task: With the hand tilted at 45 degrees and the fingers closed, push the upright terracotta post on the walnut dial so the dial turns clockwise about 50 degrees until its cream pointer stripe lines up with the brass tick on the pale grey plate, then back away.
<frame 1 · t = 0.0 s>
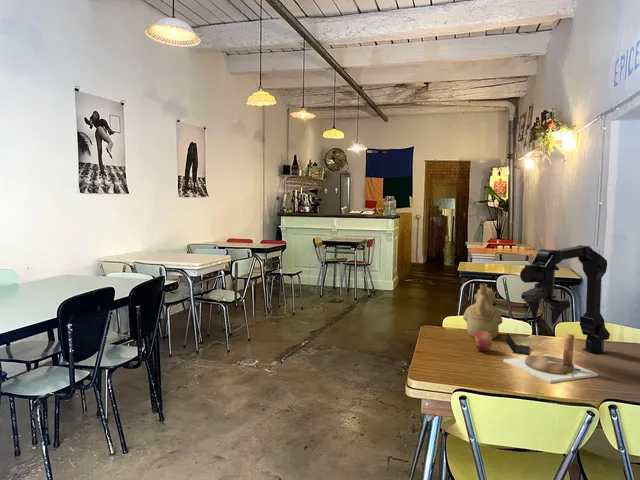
hand: (543, 321, 178), 15 cm above the table, tool pointing down, fingers open, 9 cm apart
dial plate: (548, 368, 168), on the table
handheld gaming console: (517, 350, 189), on the table
ceramic vessel: (481, 335, 210), on the table
fruit: (482, 351, 187), on the table
dial: (549, 349, 167), point 7 cm above the table, hinge at 0.0°
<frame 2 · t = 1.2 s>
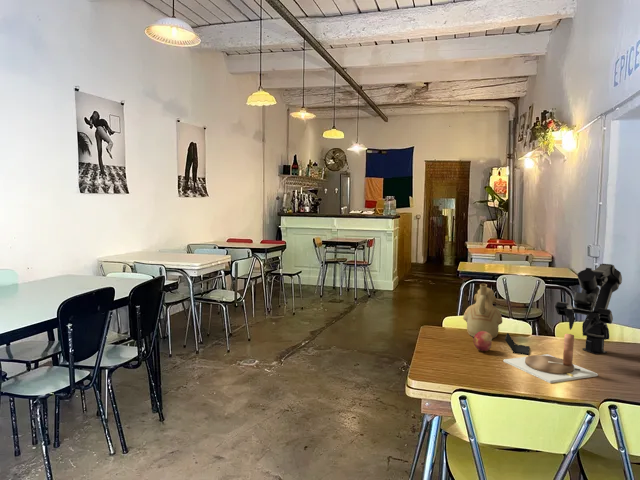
hand: (576, 330, 170), 14 cm above the table, tool tilted 45°, fingers open, 4 cm apart
nothing on the table moved.
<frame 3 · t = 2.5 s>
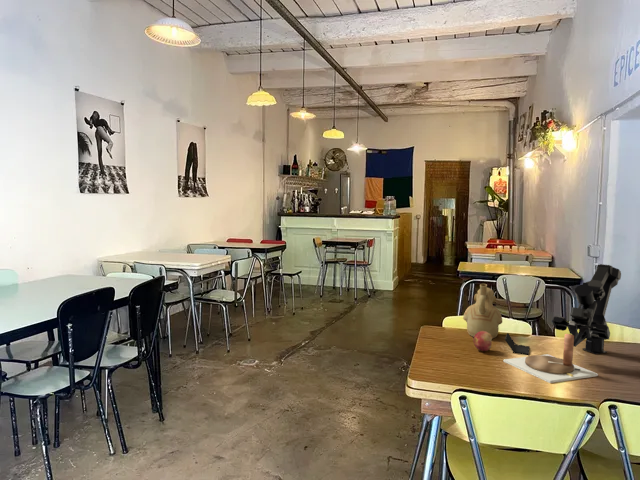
hand: (574, 345, 169), 8 cm above the table, tool tilted 45°, fingers closed
nothing on the table moved.
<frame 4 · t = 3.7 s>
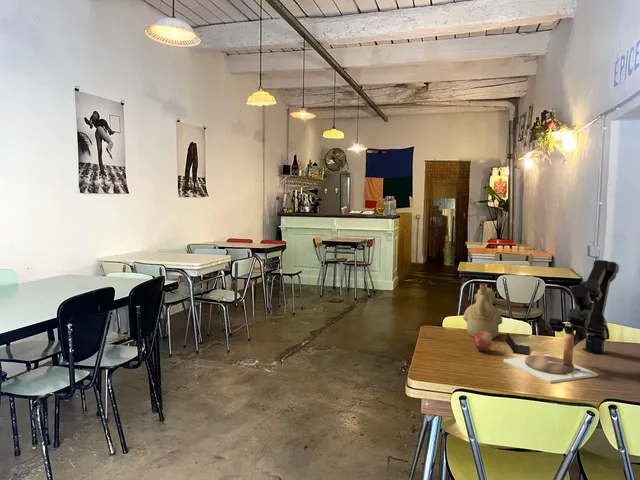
hand: (570, 347, 166), 8 cm above the table, tool tilted 45°, fingers closed, pressing on dial
dial: (549, 349, 167), point 7 cm above the table, hinge at 0.4°, touching gripper
everything else where it was.
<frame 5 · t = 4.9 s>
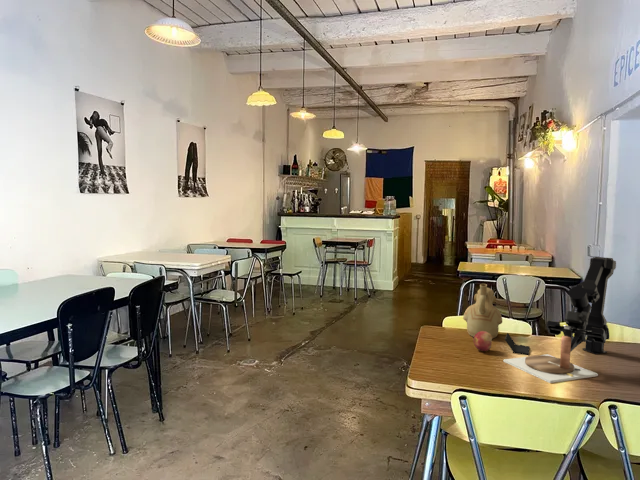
hand: (569, 351, 163), 8 cm above the table, tool tilted 45°, fingers closed, pressing on dial
dial: (549, 349, 167), point 7 cm above the table, hinge at 40.1°, touching gripper
everything else where it was.
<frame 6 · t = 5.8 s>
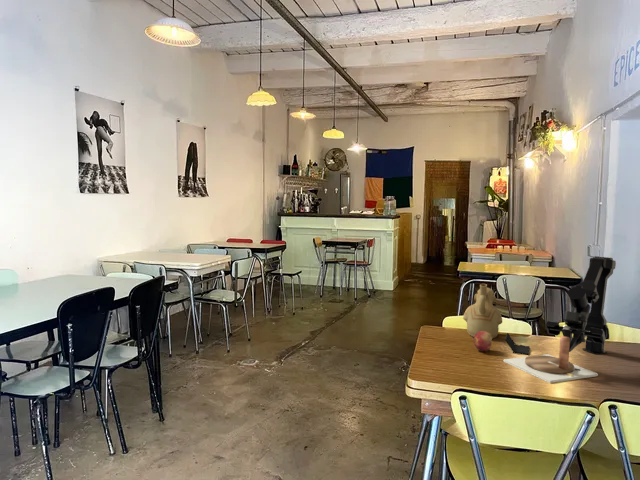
hand: (568, 351, 162), 8 cm above the table, tool tilted 45°, fingers closed
dial: (549, 349, 167), point 7 cm above the table, hinge at 46.8°, touching gripper
everything else where it was.
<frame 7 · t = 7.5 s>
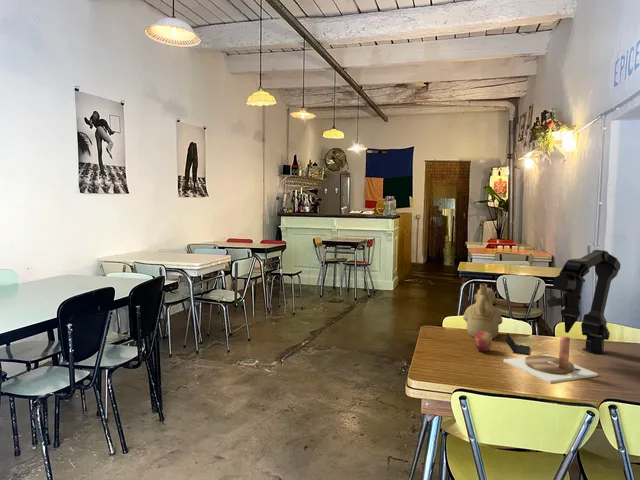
hand: (566, 332, 175), 11 cm above the table, tool pointing down, fingers closed
dial: (549, 349, 167), point 7 cm above the table, hinge at 46.8°
everything else where it was.
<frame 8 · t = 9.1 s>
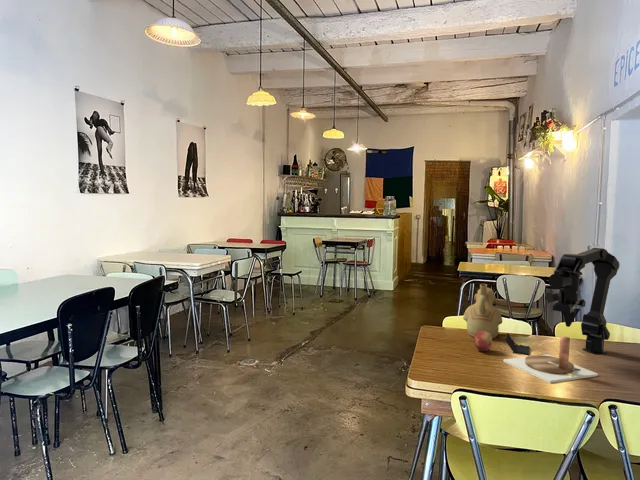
hand: (567, 326, 178), 13 cm above the table, tool pointing down, fingers closed
nothing on the table moved.
at the end: dial at +47° (first picture: +0°) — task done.
